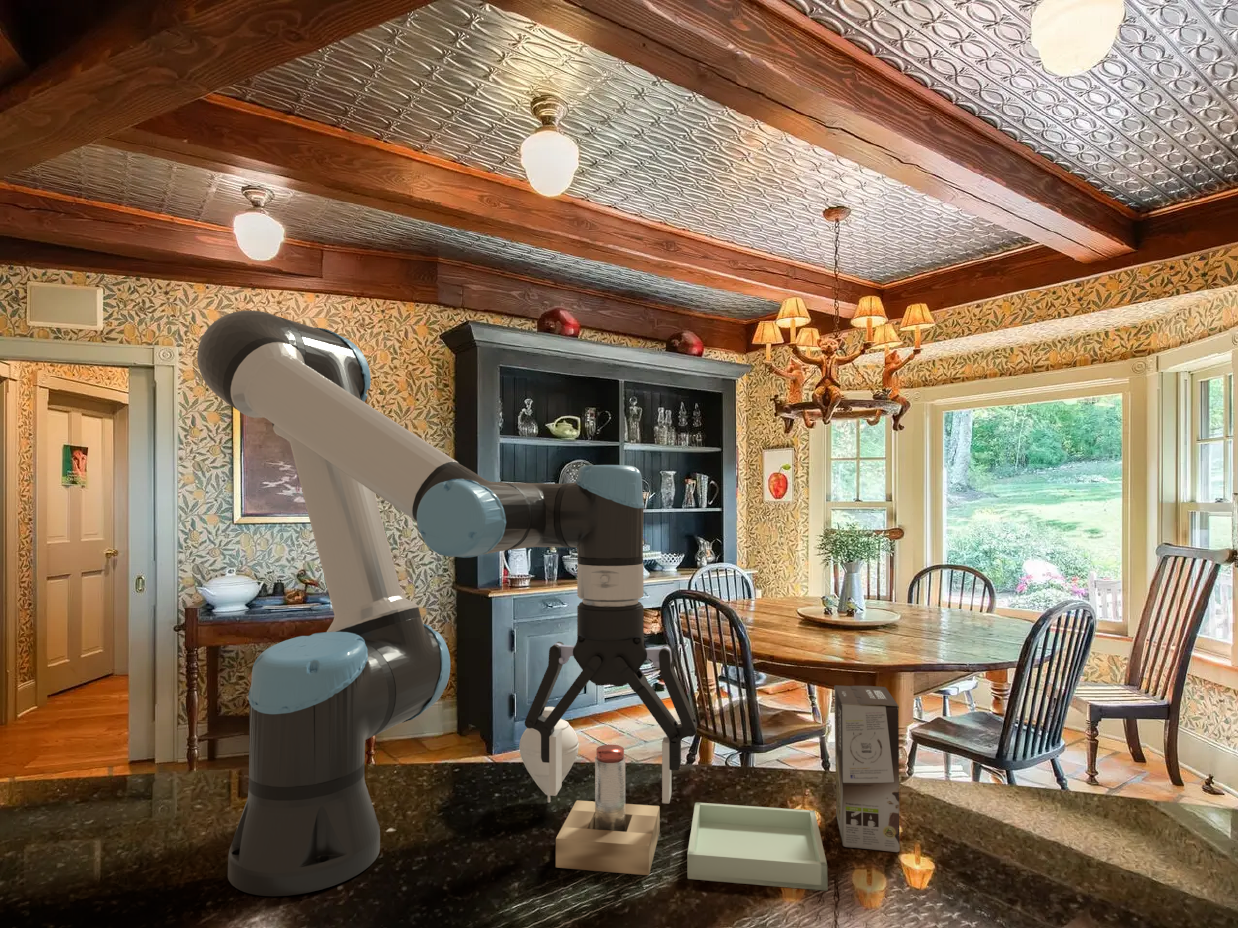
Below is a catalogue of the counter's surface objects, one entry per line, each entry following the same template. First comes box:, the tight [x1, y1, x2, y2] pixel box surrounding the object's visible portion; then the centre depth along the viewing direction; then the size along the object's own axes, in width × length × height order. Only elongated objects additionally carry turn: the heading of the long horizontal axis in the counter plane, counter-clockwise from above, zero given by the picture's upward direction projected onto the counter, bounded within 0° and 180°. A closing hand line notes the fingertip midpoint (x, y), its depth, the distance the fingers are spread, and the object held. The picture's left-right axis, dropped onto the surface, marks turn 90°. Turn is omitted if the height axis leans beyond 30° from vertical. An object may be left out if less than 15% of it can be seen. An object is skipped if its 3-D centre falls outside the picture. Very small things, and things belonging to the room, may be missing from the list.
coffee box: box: [833, 684, 901, 853], centre depth 87 cm, size 9×6×16 cm
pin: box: [594, 744, 626, 832], centre depth 83 cm, size 3×3×11 cm
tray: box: [686, 801, 829, 892], centre depth 81 cm, size 14×13×2 cm
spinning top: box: [518, 706, 580, 803], centre depth 95 cm, size 8×8×12 cm
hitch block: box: [555, 800, 661, 876], centre depth 83 cm, size 10×10×3 cm
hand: (610, 794), depth 83 cm, fingers open, 12 cm apart
